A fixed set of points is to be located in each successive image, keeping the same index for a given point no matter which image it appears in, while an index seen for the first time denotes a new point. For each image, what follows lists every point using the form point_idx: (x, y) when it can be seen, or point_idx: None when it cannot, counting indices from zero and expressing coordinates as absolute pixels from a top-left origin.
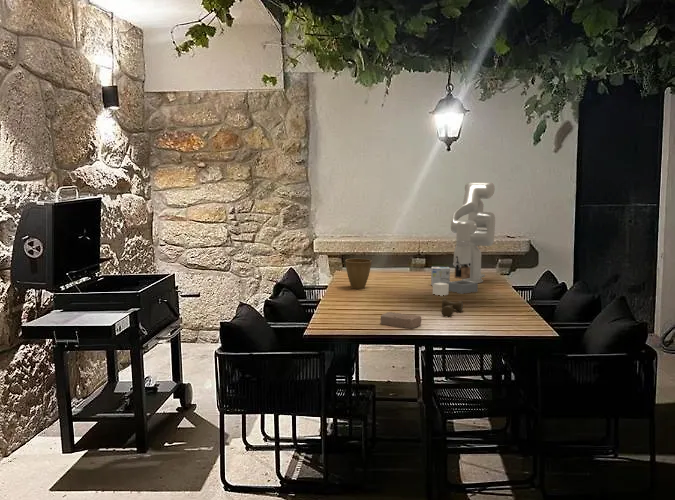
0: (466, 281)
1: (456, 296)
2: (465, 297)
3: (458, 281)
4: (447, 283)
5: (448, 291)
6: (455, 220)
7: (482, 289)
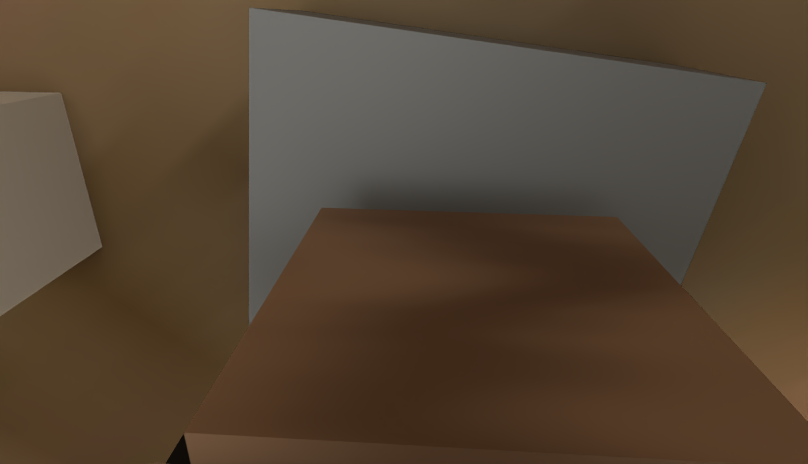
0: (662, 244)
1: (123, 365)
2: (174, 445)
3: (542, 133)
4: (256, 39)
5: (71, 267)
6: None
7: (774, 330)
